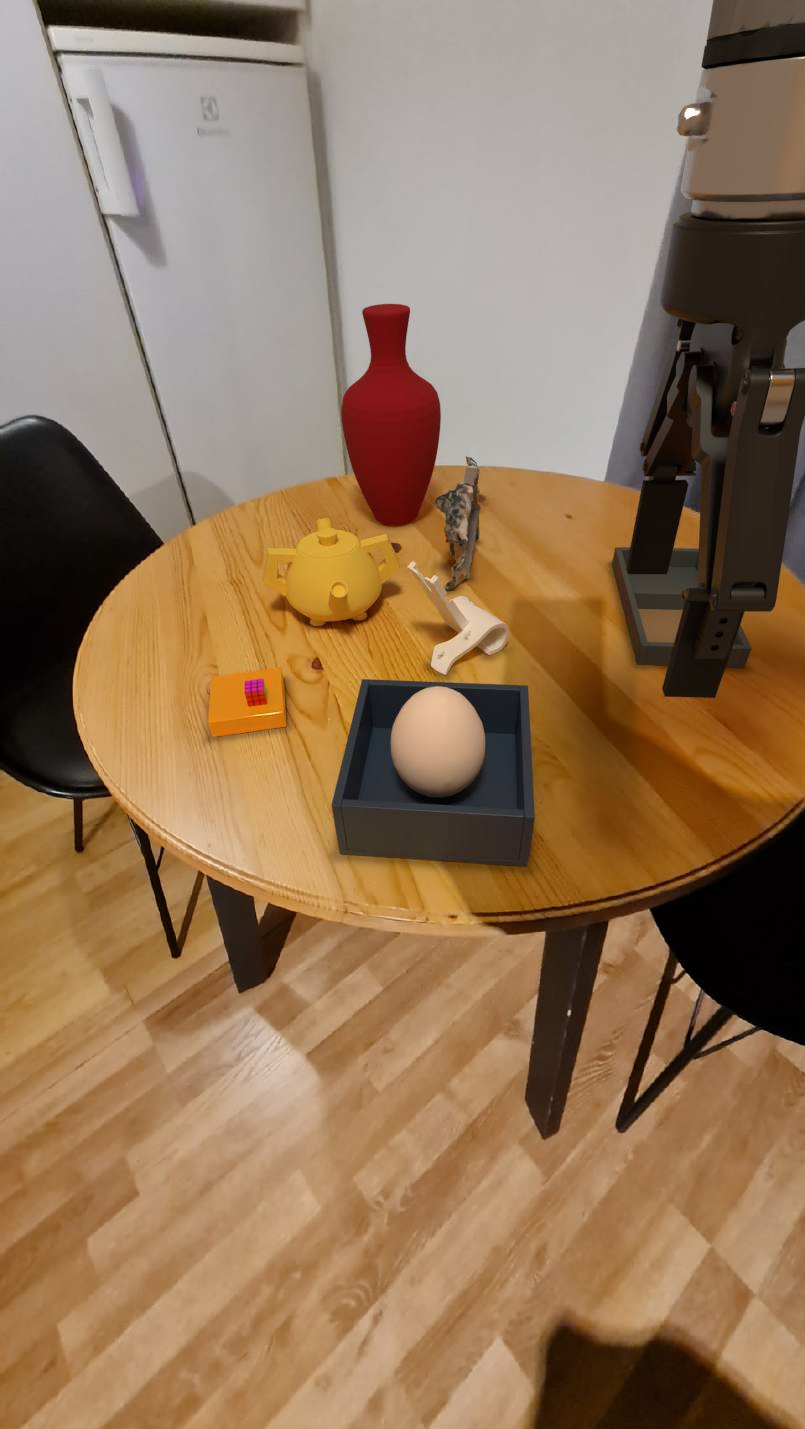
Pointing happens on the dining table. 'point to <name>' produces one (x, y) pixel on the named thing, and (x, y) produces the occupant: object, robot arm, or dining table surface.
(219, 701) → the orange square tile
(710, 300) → the robot arm
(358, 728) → the tub
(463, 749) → the egg
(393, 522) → the vase
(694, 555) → the tray
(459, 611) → the plastic part
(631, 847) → the dining table surface
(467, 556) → the grey mottled flat piece
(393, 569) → the teapot
